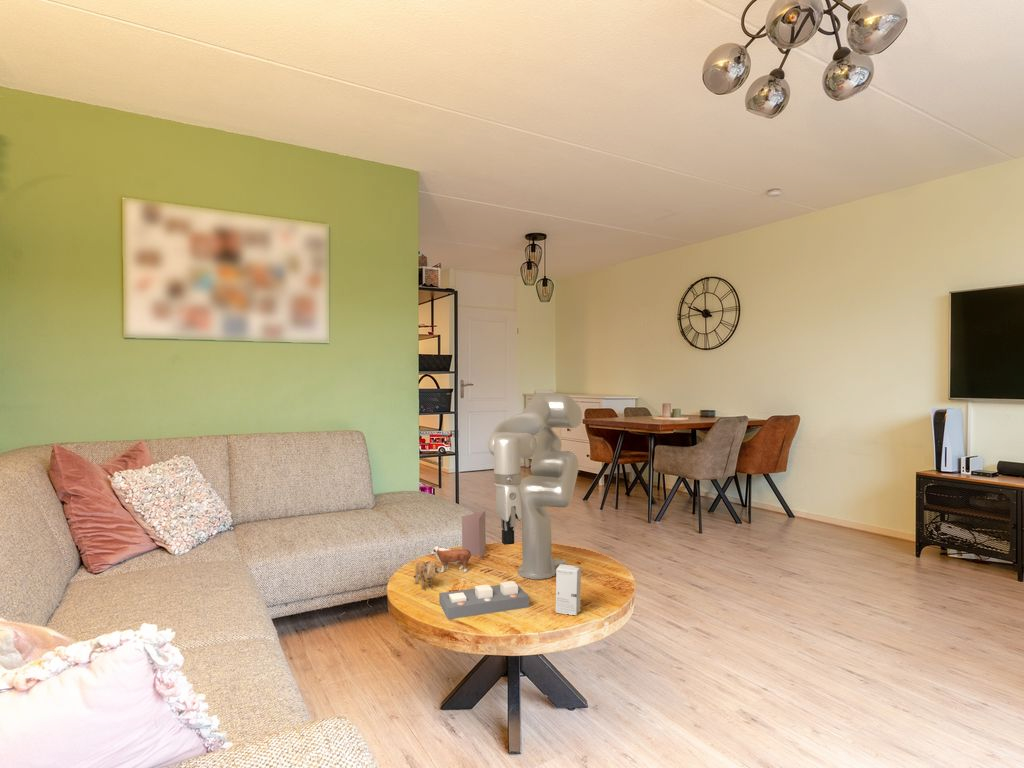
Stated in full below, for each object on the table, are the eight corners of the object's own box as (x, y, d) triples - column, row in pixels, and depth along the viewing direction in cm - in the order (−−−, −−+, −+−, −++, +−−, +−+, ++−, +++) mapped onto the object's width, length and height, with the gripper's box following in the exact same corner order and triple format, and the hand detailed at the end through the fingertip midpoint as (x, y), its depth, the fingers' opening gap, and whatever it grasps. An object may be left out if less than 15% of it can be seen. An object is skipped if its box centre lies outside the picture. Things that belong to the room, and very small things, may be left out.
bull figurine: (432, 568, 189) (432, 544, 189) (471, 569, 188) (471, 544, 188) (429, 572, 185) (428, 548, 185) (469, 573, 184) (469, 548, 184)
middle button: (488, 596, 160) (488, 584, 160) (492, 601, 157) (492, 589, 157) (475, 598, 159) (474, 586, 159) (478, 603, 155) (478, 591, 155)
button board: (516, 592, 167) (515, 582, 167) (529, 607, 156) (529, 595, 156) (439, 603, 159) (439, 592, 159) (447, 619, 149) (447, 607, 149)
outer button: (463, 604, 158) (462, 592, 158) (466, 610, 154) (466, 597, 154) (449, 606, 157) (448, 594, 157) (452, 612, 153) (452, 599, 153)
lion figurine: (442, 590, 169) (442, 560, 169) (426, 594, 166) (426, 564, 166) (421, 576, 181) (420, 549, 181) (405, 580, 178) (405, 552, 178)
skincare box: (555, 613, 152) (554, 568, 152) (559, 606, 156) (559, 563, 156) (577, 616, 150) (577, 571, 150) (581, 610, 154) (581, 566, 154)
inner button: (513, 593, 163) (513, 580, 163) (518, 598, 159) (518, 585, 159) (500, 594, 162) (500, 582, 162) (504, 600, 158) (504, 587, 158)
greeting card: (484, 550, 208) (483, 510, 208) (498, 554, 203) (497, 513, 202) (460, 558, 200) (460, 516, 199) (474, 562, 194) (474, 519, 194)
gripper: (529, 482, 154) (529, 549, 154) (511, 474, 168) (512, 535, 168) (502, 484, 152) (503, 552, 152) (487, 475, 166) (488, 538, 166)
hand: (508, 543), depth 160 cm, fingers closed
